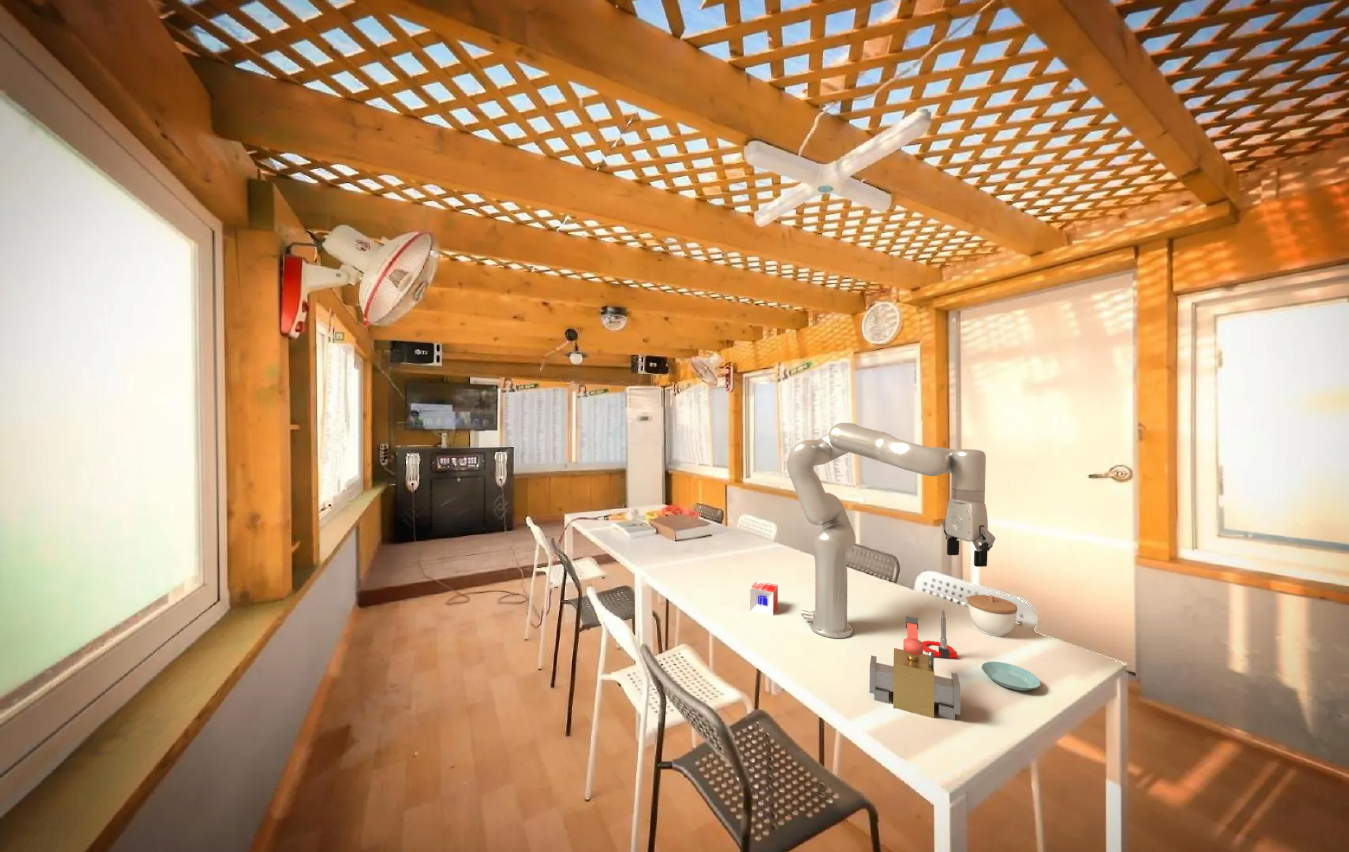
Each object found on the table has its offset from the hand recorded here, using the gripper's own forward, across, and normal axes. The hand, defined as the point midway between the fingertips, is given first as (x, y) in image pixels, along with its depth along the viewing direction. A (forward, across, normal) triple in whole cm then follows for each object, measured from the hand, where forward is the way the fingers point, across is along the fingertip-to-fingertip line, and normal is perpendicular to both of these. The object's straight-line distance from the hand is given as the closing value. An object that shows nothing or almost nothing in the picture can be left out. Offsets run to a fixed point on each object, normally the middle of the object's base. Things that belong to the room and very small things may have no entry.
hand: (966, 560), depth 120 cm
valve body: (+28, +14, -24) cm, 39 cm away
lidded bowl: (+28, -19, +24) cm, 42 cm away
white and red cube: (+30, -42, -41) cm, 66 cm away
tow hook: (+29, -9, -1) cm, 30 cm away
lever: (+16, +8, -20) cm, 27 cm away
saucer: (+29, +8, +6) cm, 30 cm away
